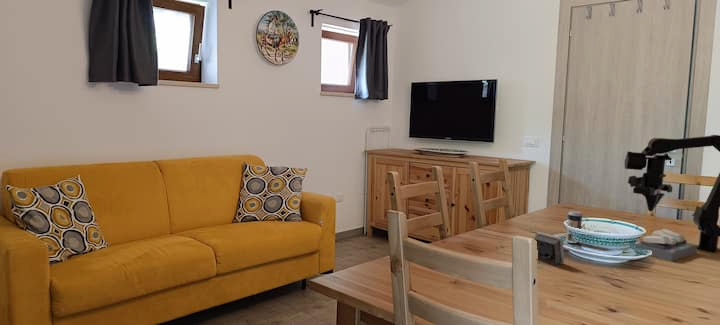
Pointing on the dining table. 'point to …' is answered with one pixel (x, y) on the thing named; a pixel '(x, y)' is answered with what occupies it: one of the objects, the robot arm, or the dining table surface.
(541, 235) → the electrical switch
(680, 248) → the console
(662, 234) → the rocker
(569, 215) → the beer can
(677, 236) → the rocker
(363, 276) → the dining table surface
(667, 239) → the rocker
